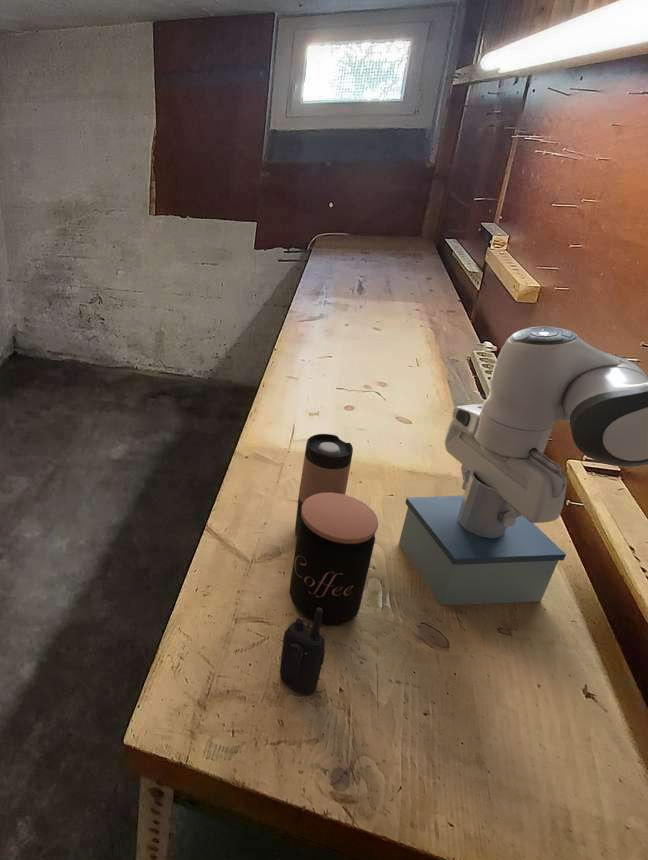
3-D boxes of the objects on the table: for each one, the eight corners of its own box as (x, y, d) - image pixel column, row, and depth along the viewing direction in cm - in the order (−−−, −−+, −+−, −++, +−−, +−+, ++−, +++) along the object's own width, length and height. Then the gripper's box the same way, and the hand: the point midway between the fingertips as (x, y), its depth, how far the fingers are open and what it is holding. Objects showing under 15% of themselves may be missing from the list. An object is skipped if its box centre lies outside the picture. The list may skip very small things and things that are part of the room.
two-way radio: (321, 686, 78) (337, 608, 71) (307, 709, 75) (322, 631, 68) (284, 663, 81) (295, 587, 74) (269, 684, 78) (280, 607, 71)
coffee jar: (275, 603, 91) (287, 515, 83) (308, 567, 97) (321, 483, 89) (339, 642, 84) (359, 550, 76) (369, 601, 90) (390, 513, 82)
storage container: (487, 538, 102) (502, 493, 98) (545, 603, 89) (566, 554, 84) (395, 542, 102) (406, 497, 98) (439, 607, 89) (455, 559, 84)
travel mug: (294, 546, 102) (307, 454, 93) (292, 519, 109) (304, 431, 100) (339, 552, 100) (357, 459, 91) (334, 524, 107) (350, 435, 98)
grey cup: (496, 513, 93) (511, 468, 89) (511, 540, 87) (528, 494, 83) (452, 508, 94) (465, 464, 90) (464, 535, 89) (478, 489, 85)
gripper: (592, 471, 74) (558, 550, 80) (483, 399, 92) (462, 468, 98) (547, 475, 74) (517, 555, 80) (447, 402, 92) (428, 471, 98)
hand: (486, 506), depth 89 cm, fingers closed on grey cup, 7 cm apart
